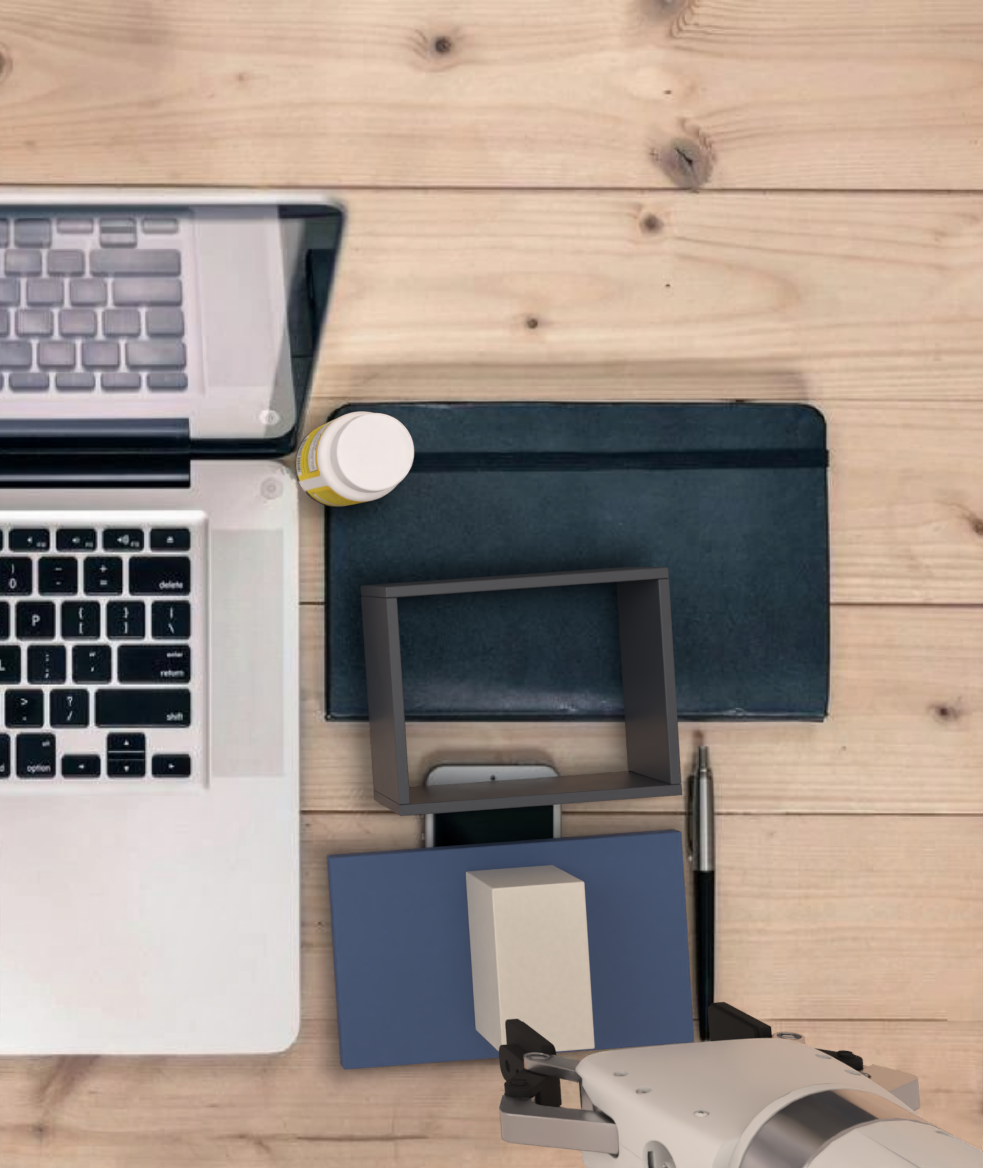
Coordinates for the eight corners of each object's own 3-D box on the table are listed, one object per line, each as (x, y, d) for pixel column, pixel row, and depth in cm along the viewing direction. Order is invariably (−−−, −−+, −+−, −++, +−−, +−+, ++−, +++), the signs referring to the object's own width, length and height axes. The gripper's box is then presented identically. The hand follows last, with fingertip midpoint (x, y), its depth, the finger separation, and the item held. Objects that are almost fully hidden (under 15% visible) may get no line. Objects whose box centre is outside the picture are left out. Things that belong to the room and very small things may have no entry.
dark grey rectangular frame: (632, 778, 76) (682, 795, 71) (370, 798, 76) (400, 816, 70) (619, 566, 76) (668, 567, 70) (356, 585, 76) (385, 586, 70)
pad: (681, 1033, 76) (695, 1042, 75) (337, 1060, 76) (344, 1070, 74) (668, 826, 76) (682, 831, 75) (323, 852, 76) (330, 858, 74)
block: (563, 1023, 75) (595, 1049, 71) (475, 1030, 75) (502, 1056, 71) (552, 864, 74) (584, 881, 70) (465, 871, 74) (492, 888, 70)
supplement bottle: (389, 481, 75) (439, 470, 67) (318, 522, 75) (359, 517, 67) (347, 408, 75) (393, 388, 67) (276, 449, 75) (312, 434, 67)
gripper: (616, 1342, 45) (439, 1138, 62) (1114, 1297, 45) (802, 1107, 62) (599, 1119, 45) (427, 976, 62) (1096, 1077, 45) (789, 947, 62)
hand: (615, 1042), depth 62 cm, fingers open, 9 cm apart
